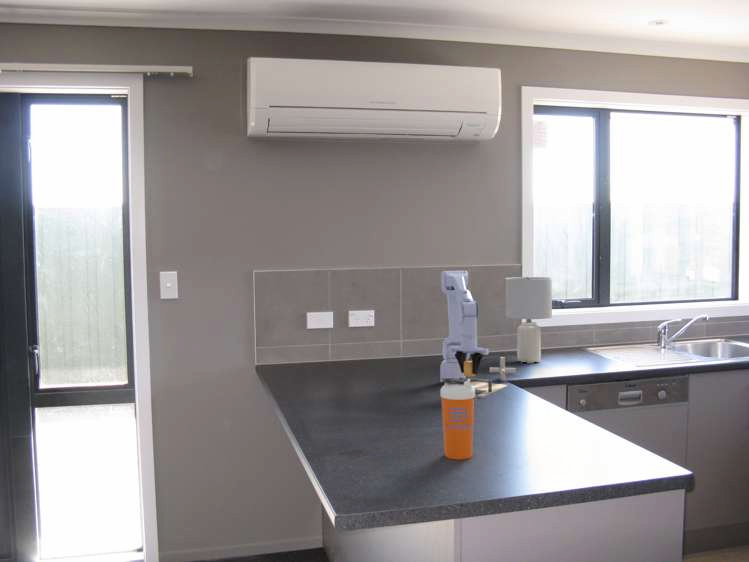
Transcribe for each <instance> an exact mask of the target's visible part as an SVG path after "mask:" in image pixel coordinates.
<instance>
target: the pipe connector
mask: <svg viewBox="0 0 749 562" xmlns="http://www.w3.org/2000/svg"><path fill="white" fill-rule="evenodd" d="M499 359H500V360H499V367H489V373H499V376H500V377H499V379H500V380H499V381H506V373H514V374H515V373H517V371H516V370H517V368H516V367H506V357H505V356H504V357H503V356H500V357H499Z"/></svg>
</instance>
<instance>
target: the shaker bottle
mask: <svg viewBox="0 0 749 562" xmlns="http://www.w3.org/2000/svg"><path fill="white" fill-rule="evenodd" d="M469 378H470V377H466V378H464V379H463V380H462V379H456V378H445V379H443V382H444V385H442V386H441V388H440V391H439V392H440V396H439V397H440V399H441V412H442V430H443V431H442V433H443V449H444V456H445V457H446V459H451V460H455V461H456V460H457V461H458V460H460V461H461V460H463V461H464V460H468V459H470V458H472V457H473V448H474V447H473V440H474V416H475V415H474V412H475V411H474V410H475V398H476V390H475V389H474V388H473V386H472V384H471V383H472V381H470V379H469Z"/></svg>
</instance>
